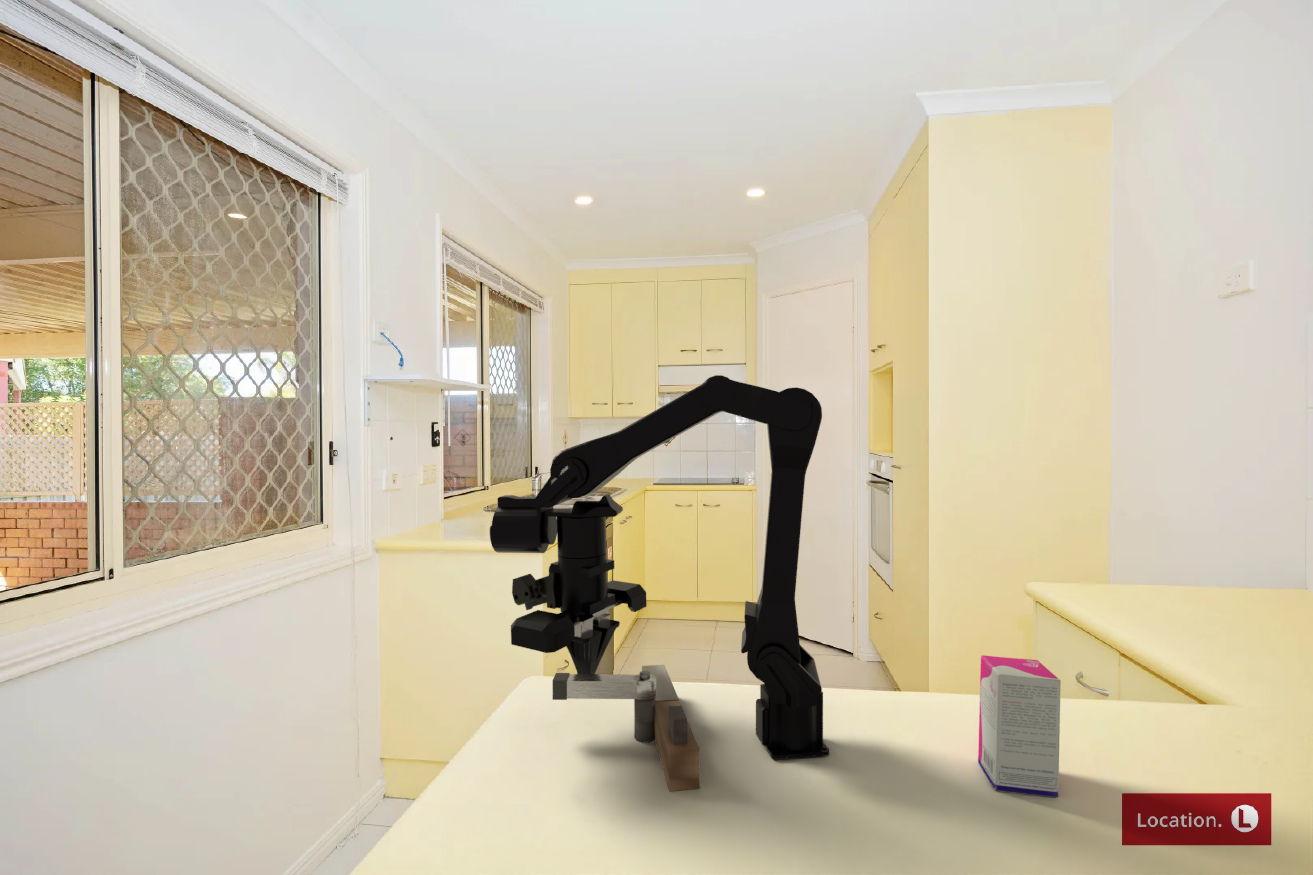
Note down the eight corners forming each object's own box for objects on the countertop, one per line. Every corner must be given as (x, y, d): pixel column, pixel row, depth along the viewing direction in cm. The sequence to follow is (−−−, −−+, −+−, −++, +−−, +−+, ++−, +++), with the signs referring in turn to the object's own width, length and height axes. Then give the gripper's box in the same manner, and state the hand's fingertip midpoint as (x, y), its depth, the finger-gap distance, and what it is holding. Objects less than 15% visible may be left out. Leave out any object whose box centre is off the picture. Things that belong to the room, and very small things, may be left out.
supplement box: (1061, 798, 60) (1062, 679, 60) (994, 791, 61) (994, 674, 61) (1037, 766, 66) (1038, 657, 65) (976, 760, 67) (976, 653, 67)
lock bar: (656, 691, 73) (656, 668, 73) (655, 701, 71) (655, 677, 71) (556, 690, 73) (556, 667, 73) (552, 700, 71) (552, 676, 71)
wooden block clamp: (664, 694, 83) (664, 645, 83) (699, 788, 62) (699, 722, 62) (625, 696, 83) (625, 647, 83) (646, 792, 61) (646, 726, 61)
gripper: (579, 534, 86) (582, 646, 87) (473, 562, 70) (477, 700, 71) (647, 541, 80) (650, 661, 81) (548, 574, 64) (552, 724, 65)
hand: (585, 684), depth 74 cm, fingers closed
